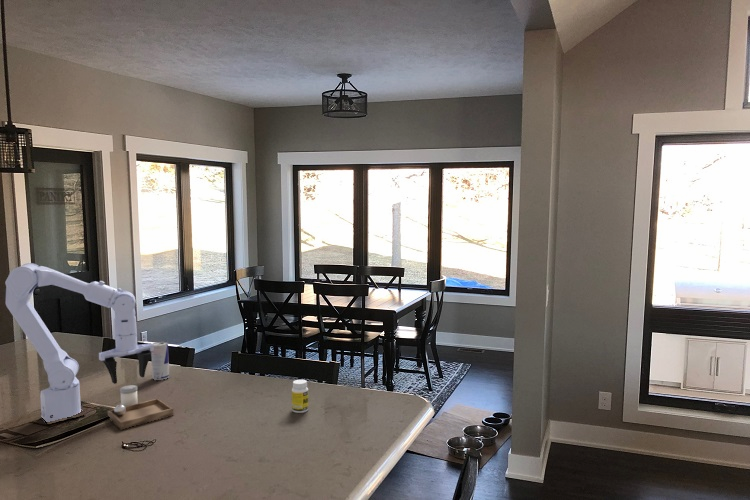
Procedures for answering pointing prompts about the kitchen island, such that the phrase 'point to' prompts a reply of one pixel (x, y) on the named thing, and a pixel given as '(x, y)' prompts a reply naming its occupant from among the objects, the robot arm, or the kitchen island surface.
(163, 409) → the tray
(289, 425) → the kitchen island surface
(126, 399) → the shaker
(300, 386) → the supplement bottle
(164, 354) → the energy drink
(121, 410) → the steel ball
